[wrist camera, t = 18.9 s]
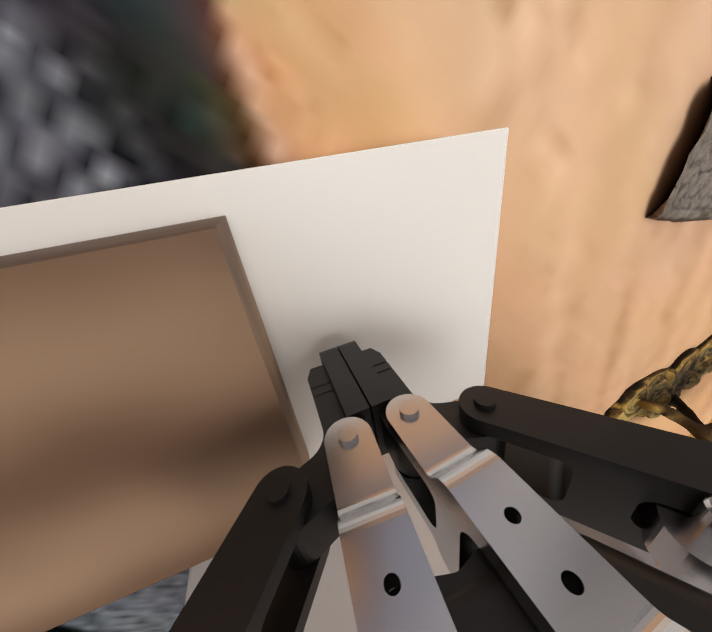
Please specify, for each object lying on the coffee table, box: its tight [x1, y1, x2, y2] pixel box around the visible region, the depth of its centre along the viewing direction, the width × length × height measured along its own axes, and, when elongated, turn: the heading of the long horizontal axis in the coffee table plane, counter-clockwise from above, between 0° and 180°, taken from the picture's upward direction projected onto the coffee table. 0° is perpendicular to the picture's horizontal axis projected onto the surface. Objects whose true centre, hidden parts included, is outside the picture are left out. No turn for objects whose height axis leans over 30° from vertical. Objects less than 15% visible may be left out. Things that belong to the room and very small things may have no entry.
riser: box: [0, 127, 509, 459], centre depth 14 cm, size 14×18×4 cm
